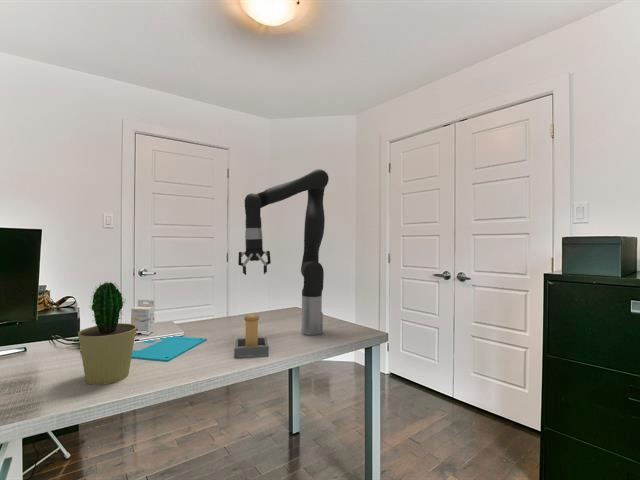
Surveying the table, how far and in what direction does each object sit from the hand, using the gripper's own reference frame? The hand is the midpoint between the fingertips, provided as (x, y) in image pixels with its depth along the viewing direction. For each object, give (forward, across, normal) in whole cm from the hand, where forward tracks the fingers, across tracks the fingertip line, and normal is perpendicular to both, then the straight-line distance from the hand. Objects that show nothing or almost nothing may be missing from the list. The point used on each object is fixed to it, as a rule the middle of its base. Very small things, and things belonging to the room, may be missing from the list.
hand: (255, 274), depth 152 cm
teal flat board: (+26, +39, +11) cm, 48 cm away
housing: (+27, +2, +23) cm, 36 cm away
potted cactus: (+26, +46, +40) cm, 66 cm away
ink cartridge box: (+25, +50, -10) cm, 57 cm away
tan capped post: (+26, +2, +23) cm, 35 cm away
